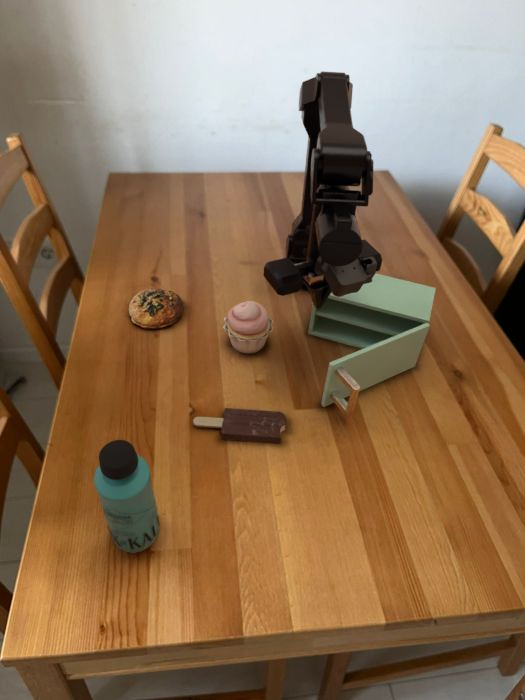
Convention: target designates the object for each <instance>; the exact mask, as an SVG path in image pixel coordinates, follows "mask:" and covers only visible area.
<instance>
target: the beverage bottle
mask: <svg viewBox="0 0 525 700" xmlns="http://www.w3.org/2000/svg"><path fill="white" fill-rule="evenodd" d="M98 461H99V465H98V467H97V468H96V470H95V472H94V478H93V483H94V487H95V489H96V491H97V494H98V497H99V502H100V507H101V508H102V512H103V513H102V514H103V515H104V518H105V520H106V524H107V525H106V528H108V530H109V531H108V532H109V536H110V537H111V540H112V542H113V543H114V545H115V547H116V548H118V549H120V550H121V551H123V552H126V553H140V552H142V551H144V550H146V549H148V548H149V547H151V546H152V545H153V544H154V543H155V541H156V540H157V538H158V537H159V535H160V530H161V528H160V527H161V522H160V515H159V513H158V511H159V509H158V505H157V500H156V494H155V492H154V489H153V483H152V478H151V470H150V469H151V468H150V466H149V463H148V462H147V461H146V459H145V458H144V457H142V456H141V455H139V454H138V453H137V452H136V449H135V447H134V445H133V444H132V443H131V442H130V441H128V440H126V439H116V440H111V441H109V442H107V443H106V444H105V445H103V446H102V448H101V449H100V451H99V454H98Z"/></svg>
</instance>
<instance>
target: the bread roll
mask: <svg viewBox="0 0 525 700" xmlns="http://www.w3.org/2000/svg"><path fill="white" fill-rule="evenodd" d="M184 307H185V306H184V302H183V300H182V297H180V295H179V294H177V293H175V292H174V291H172V290H166V289H161V288H156V287H155V288H147V289H143V290H141V291H139V292H137V293H136V295H134V296H133V297H132V299H131V300H130V302H129V304H128V315H129V316H130V318H131V321H132V323H133V324H134V325H135V324H136V325H137V326H140V327H141V328H143V329H149V330H152V329H160V328H168V327H169V326H171V325H174V324H175V323H176V322H177V321H178V320H179V319H180V318H181V316H182V314H183V313H184Z"/></svg>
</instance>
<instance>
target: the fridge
mask: <svg viewBox="0 0 525 700" xmlns="http://www.w3.org/2000/svg"><path fill="white" fill-rule="evenodd" d="M436 290H437V288H436V287H434V286H430V285H425V284H421V283H417V282H413V281H408V280H404V279H401V278H397V277H393V276H389V275H386V274H385V275H384V274H380V273H377V272H376V273H375V275H374V276H373V278H372V282H370V283H367V284H363V286H362V287H361V289H360V290H359V291H358V292H356V293H350V294H346V295H344V296H341V297H337V296H335V295H333V293H332V292H331V294H330V295H329V297H328V298H327V300H326V301H325V303H324V304H323V306H322V307H321V308H319V309H316V308H315V306H314V304H313V303H311V304H312V306H311V312H310V318H309V325H308V332H307V334H308V335H311V336H315V337H319V338H322V339H326V340H330V341H333V342H336V343H339V344H343V345H348V346H351V347H355V348H357V349H360V350H361V349H364V348H366V347H369V346H371V345H374V344H376V343H379V342H381V341H383V340H386V339H388V338H391V337H393V336H396V335H398V334H401V333H403V332H406V331H408V330H410V329H413V328H415V327H418V326H420V325H423V324H425V323H428V324H430V320H431V315H432V311H433V304H434V301H435V295H436Z"/></svg>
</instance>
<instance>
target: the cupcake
mask: <svg viewBox="0 0 525 700" xmlns="http://www.w3.org/2000/svg"><path fill="white" fill-rule="evenodd" d="M223 321H224V322H225V324H224V325H223V326H222V328H223V330H224V331H225V332H226V334H227V335H228V338H229V340H230V344H231V346H232V348H233V349H235V350H236V351H237V352H239V353H242V354H247V355H249V354H255V353H258V352H259V351H261V350H262V349H263V348H264V346H265V344H266V342H267V339H268V337H269V335H270V334H271V333H272V332H273V330H274V327H273V323H274V321H275V320H274V319H272V318H270V317H269V314H268V311H267V310H266V308H265V307H264V305H262V304H261V303H259V302H257V301H254V300H246V301H243V302H240V303H238V304H236V305H235V306H233V307H232V308H231V309H230V310H229V312H228V314H227V316H225V317H224V318H223Z"/></svg>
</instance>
